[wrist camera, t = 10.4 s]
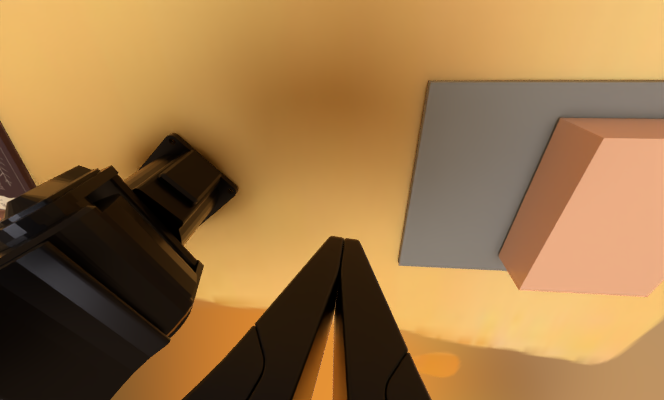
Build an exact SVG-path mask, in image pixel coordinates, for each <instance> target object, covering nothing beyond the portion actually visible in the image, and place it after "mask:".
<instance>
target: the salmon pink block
mask: <svg viewBox="0 0 664 400" xmlns="http://www.w3.org/2000/svg"><path fill="white" fill-rule="evenodd" d="M499 258H500V260H501V261H502V263H503V265H504V266H505V268H506V269H507V271H508V273H509V274H510V276H511V278H512V279H513V281H514V283H515V284H516V286H517V288H518V289H519V290H526V291H545V292H564V293H582V294H601V295H620V296H638V297H648V296H649V295H650V294H651V293H652V292H653V290H654V289H655V288H656V287H657V286H658V285H659V284H660V283H661V282H662V281H663V280H664V119H631V118H560V119H559V122H558V124H557V126H556V128H555V131H554V133H553V135H552V137H551V140H550V142H549V144H548V146H547V148H546V151H545V153H544V155H543V157H542V160H541V162H540V164H539V166H538V169H537V171H536V173H535V175H534V178H533V180H532V182H531V184H530V186H529V189H528V191H527V193H526V195H525V198H524V200H523V202H522V204H521V207H520V209H519V211H518V213H517V216H516V218H515V220H514V222H513V224H512V227H511V229H510V231H509V233H508V236H507V238H506V240H505V242H504V245H503V247H502V249H501V251H500V254H499Z"/></svg>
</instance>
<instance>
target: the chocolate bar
mask: <svg viewBox="0 0 664 400" xmlns="http://www.w3.org/2000/svg"><path fill="white" fill-rule="evenodd" d="M35 187H36V185H35V183H34V181H33V180H32V178H31V176H30V174H29V172H28V170H27V169H26V167H25V165H24V163H23V161H22V160H21V158H20V156H19V154H18V152H17V151H16V149H15V147H14V145H13V143H12V141H11V140H10V138H9V136H8V134H7V132H6V131H5V129H4V127H3V125H2V123H1V122H0V220H2V219H3V218H4V214H5V209H6V204H7V202H8V201H10V200H12V199H14V198H16V197H18V196H20V195H22V194H24V193H26V192H28V191H30V190H31V189H33V188H35Z"/></svg>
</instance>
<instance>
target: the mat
mask: <svg viewBox="0 0 664 400" xmlns="http://www.w3.org/2000/svg"><path fill="white" fill-rule="evenodd" d="M560 118H631V119H664V80H657V81H428V87H427V93H426V99H425V105H424V110H423V116H422V122H421V128H420V134H419V140H418V146H417V152H416V158H415V164H414V170H413V176H412V182H411V187H410V193H409V199H408V205H407V211H406V217H405V223H404V229H403V235H402V241H401V247H400V253H399V259H398V263H399V266H419V267H440V268H460V269H481V270H502V271H507V269H506V268H505V266H504V265H503V263H502V261H501V260H500V258H499V254H500V251H501V249H502V247H503V245H504V242H505V240H506V238H507V236H508V233H509V231H510V229H511V227H512V224H513V222H514V220H515V218H516V216H517V213H518V211H519V209H520V207H521V204H522V202H523V200H524V198H525V195H526V193H527V191H528V189H529V186H530V184H531V182H532V180H533V178H534V175H535V173H536V171H537V169H538V166H539V164H540V162H541V160H542V157H543V155H544V153H545V151H546V148H547V146H548V144H549V142H550V140H551V137H552V135H553V133H554V131H555V128H556V126H557V124H558V122H559V119H560Z"/></svg>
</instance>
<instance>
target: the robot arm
mask: <svg viewBox="0 0 664 400" xmlns="http://www.w3.org/2000/svg"><path fill="white" fill-rule="evenodd" d="M172 139H174V140H175V142H176V143H174V142H173V141H172ZM230 189H232V190H233V191H230ZM237 192H238V188H237V186H236V185H235V184H233V183H232V182H231V181H230V180H229V179H228V178H226V177H225V176H224V175H223V174H222V173H221V172H220V171H219V170H217V169H216V168H215V167H214V166H213V165H212V164H210V163H209V162H208V161H207V160H206V159H205V158H204V157H202V156H201V155H200V154H199V153H198V152H197V151H195V150H194V149H193V148H192V147H191V146H190V145H189V144H187V143H186V142H185V141H184V140H183V139H182V138H181V137H179V136H178V135H177V134H170V135H168V136H167V137H166V138H165V139H164V140H163V141H162V143H161V144H160V145H159V146H158V147H157V149H156V150H155V151H154V152H153V153H152V155H151V156H150V157H149V158H148V160H147V161H146V162H145V163H144V164H143V166H142V167H141V168H140V169H139V170H138V171H137V172H136V173H134V174H133V175H131V176H130V177H128V178H127V179H126V180H124V181H123V180H122V179H121V178H120V177H119V175H118V172H117V171H116V170H115V168H114V167H113V166H112V165H111V166H109V167H107V168H105V169H102V170H99V169H98V168H97V169H95V170H94V169H93V170H90V169H88V168H85V167H82V166H77V167H75V168H73V169H71V170H69V171H67V172H65V173H63V174H61V175H59V176H57V177H55V178H53V179H51V180H49V181H47V182H45V183H43V184H41V185H39V186H37V187H35V188H33V189H31V190H30V191H28V192H26V193H24V194H22V195H20V196H18V197H16V198H14V199H12V200H10V201H8V202H7V204H6V209H5V214H4V218H3V219H2V220H0V400H110V399H111V398H112V397H113V396H114V394H115V393H116V392H117V391H118V390H119V389H120V388H121V386H122V385H123V384H124V383H125V382H126V381H127V380H128V379H129V378H130V376H131V375H132V374H133V373H134V372H135V371H136V370H137V369H138V368H139V367H140V366H142V365H143V364H144V363H145V362H146V361H147V360H148V359H149V358H150V357H152V356H153V355H154V354H156V353H157V352H158V351H160V350H161V349H162V348H164V347H165V346H166V345H167V344H168V343H169V342H170V338H171V337H172V336H173V335H174V334H175V333H176V332H177V331H178V330H179V328H180V327H181V326H182V325H183V323H184V322H185V320H186V319H187V317H188V315H189V314H190V312H191V309H192V306H193V303H194V299H195V295H196V292H197V288H198V285H199V281H200V277H201V274H202V270H203V267H204V265H203V264H202V263H201V262H200V261H199V260H196V259H195V258H194V257H193V256H192V255H191V253H190V252H189V251H188V250H187V249H186V248H185V247H184V244H185V243H186V242H187V241H188V239H189V238H190V237H191V236H192V234H193V233H194V232H195V230H196V229H197V228H198V227H199V226H200V225H201V224H202V223H203V222H205V221H206V220H207V219H208V218H209V217H210V216H212V215H213V214H214V213H215V212H216V211H217V210H219V209H220V208H221V207H222V206H223V205H224V204H226V203H227V202H228V201H229V200H230V199H231V198H233V197H234V196H235V195H236V193H237ZM336 297H337V298H336ZM335 304H336V305H335ZM334 310H335V315H334ZM333 315H334V357H333V363H334V364H333V400H432V399H431V398H430V395H429V394H428V391H427V389H426V387H425V385H424V383H423V381H422V379H421V377H420V375H419V373H418V370H417V368H416V366H415V364H414V361H413V359H412V357H411V355H410V353H407V352H408V348H407V346H406V344H405V342H404V339H403V337H402V335H401V333H400V331H399V328H398V326H397V324H396V322H395V319H394V317H393V315H392V313H391V310H390V308H389V306H388V304H387V301H386V299H385V297H384V295H383V293H382V290H381V288H380V286H379V284H378V281H377V279H376V277H375V275H374V272H373V270H372V268H371V266H370V263H369V261H368V259H367V257H366V255H365V252H364V250H363V248H362V246H361V243H360V242H359V240H356V239H349V238H346V239H345V240H344V238H342V237H335V236H330V237H329V238H328V239H327V240H326V242H325V243H324V244H323V245H322V246H321V247H320V249H319V250H318V251H317V252H316V253H315V254H314V256H313V257H312V258H311V259H310V260H309V261H308V262H307V264H306V265H305V266H304V267H303V268H302V269H301V271H300V272H299V273H298V274H297V275H296V276H295V278H294V279H293V280H292V281H291V282H290V283H289V285H288V286H287V287H286V288H285V289H284V290H283V292H282V293H281V294H280V295H279V296H278V297H277V299H276V300H275V301H274V302H273V303H272V304H271V306H270V307H269V308H268V309H267V310H266V311H265V313H264V314H263V315H262V316H261V317H260V318H259V320H258V321H257V322H256V323H255V326H252V327H251V329H250V330H249V331H248V332H247V333H246V334H245V336H244V337H243V338H242V339H241V340H240V341H239V342H238V344H237V345H236V346H235V347H234V348H233V349H232V350H231V351H230V352H229V353H228V355H227V356H226V357H225V358H224V359H223V360H222V361H221V362H220V363H219V364H218V365H217V366H216V367H215V368H214V369H213V370H212V371H211V372H210V373H209V374H208V375H207V376H206V377H205V378H204V379H203V380H202V381H201V382H200V383H199V384H198V385H197V386H196V387H195V388H194V389H193V390H192V391H191V392H189V393H188V394H187V395H186V396H185V397H184V398H183V399H182V400H311V398H312V394H313V391H314V387H315V383H316V380H317V376H318V372H319V368H320V365H321V361H322V357H323V354H324V350H325V346H326V342H327V339H328V335H329V331H330V327H331V324H332V320H333Z"/></svg>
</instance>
